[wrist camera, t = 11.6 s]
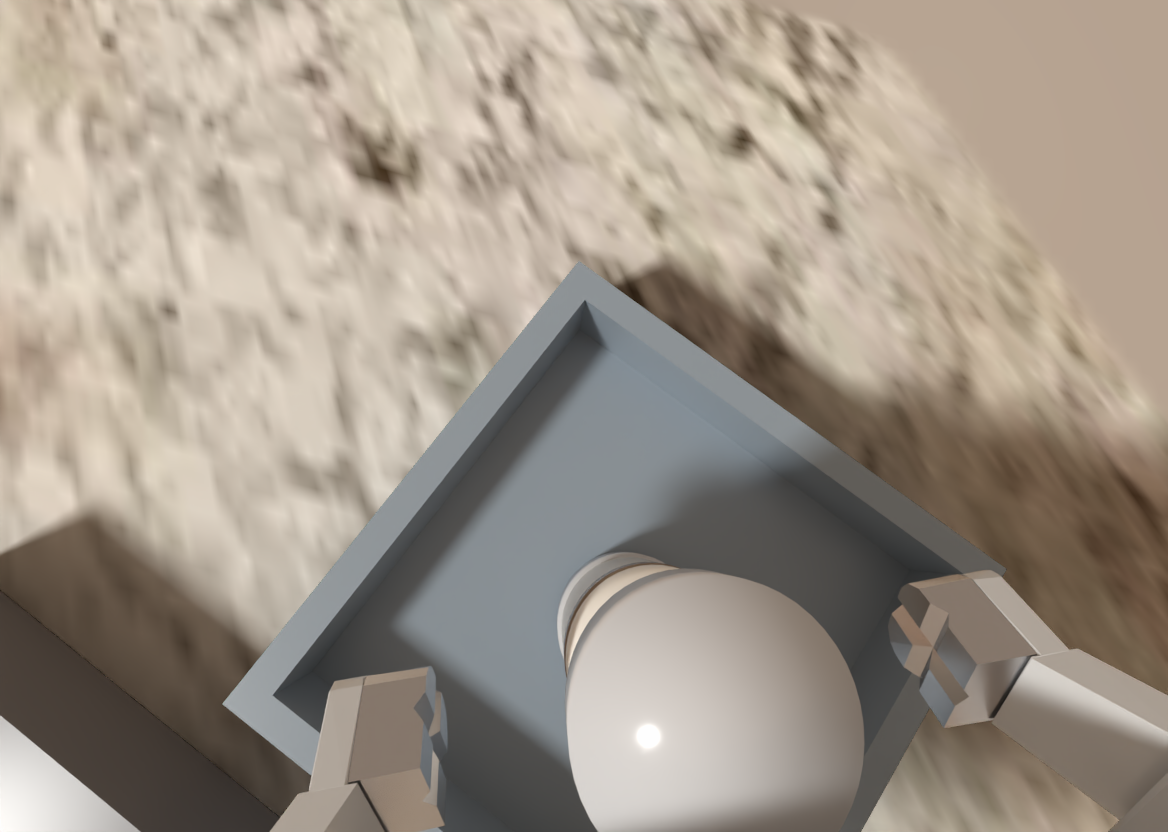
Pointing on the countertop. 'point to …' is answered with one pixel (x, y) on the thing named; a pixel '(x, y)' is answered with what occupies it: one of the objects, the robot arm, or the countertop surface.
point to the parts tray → (597, 552)
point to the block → (98, 751)
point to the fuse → (703, 703)
